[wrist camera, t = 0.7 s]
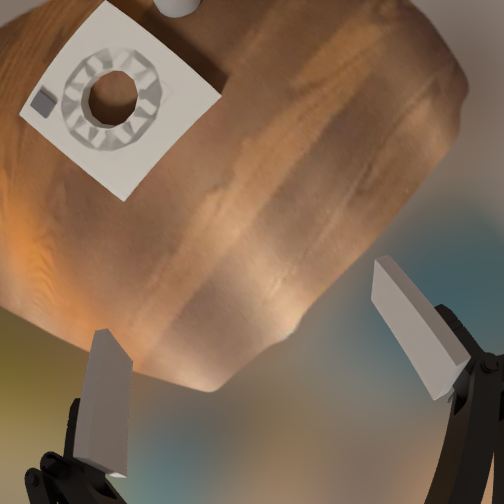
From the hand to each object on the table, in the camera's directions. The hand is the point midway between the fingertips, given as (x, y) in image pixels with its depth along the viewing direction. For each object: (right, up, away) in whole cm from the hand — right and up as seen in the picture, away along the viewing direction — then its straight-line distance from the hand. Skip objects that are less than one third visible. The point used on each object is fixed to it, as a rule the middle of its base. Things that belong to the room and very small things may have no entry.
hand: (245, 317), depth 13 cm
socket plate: (-15, +20, +13) cm, 28 cm away
